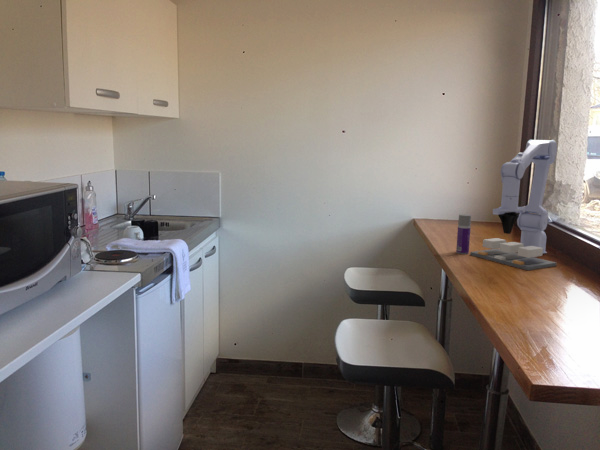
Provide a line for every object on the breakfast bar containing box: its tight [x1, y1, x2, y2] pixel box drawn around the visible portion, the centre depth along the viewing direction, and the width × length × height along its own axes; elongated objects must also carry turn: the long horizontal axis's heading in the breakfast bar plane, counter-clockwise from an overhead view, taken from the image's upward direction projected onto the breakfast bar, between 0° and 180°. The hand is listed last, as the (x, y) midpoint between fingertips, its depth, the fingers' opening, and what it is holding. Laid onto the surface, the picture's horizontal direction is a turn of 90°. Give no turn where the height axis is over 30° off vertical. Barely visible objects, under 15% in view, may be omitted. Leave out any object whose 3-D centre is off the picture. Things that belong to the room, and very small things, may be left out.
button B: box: [499, 241, 524, 253], centre depth 195 cm, size 8×4×3 cm, turn 119°
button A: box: [482, 237, 507, 250], centre depth 202 cm, size 8×4×3 cm, turn 119°
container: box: [455, 213, 472, 255], centre depth 206 cm, size 5×5×15 cm
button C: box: [517, 246, 544, 258], centre depth 188 cm, size 8×4×3 cm, turn 119°
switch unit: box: [469, 248, 558, 271], centre depth 196 cm, size 15×26×2 cm, turn 29°
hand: (507, 233), depth 193 cm, fingers closed
